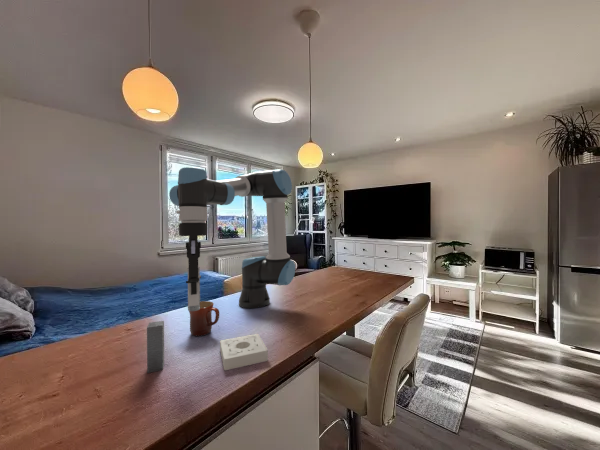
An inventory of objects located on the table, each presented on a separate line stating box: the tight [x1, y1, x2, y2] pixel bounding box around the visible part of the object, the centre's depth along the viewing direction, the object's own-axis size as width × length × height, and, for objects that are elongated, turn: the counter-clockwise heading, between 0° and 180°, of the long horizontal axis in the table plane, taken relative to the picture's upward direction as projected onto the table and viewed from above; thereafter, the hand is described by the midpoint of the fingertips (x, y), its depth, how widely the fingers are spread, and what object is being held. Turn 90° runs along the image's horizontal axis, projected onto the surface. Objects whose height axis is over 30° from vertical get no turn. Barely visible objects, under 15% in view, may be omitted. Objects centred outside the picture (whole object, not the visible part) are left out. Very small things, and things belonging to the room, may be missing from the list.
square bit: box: [146, 320, 165, 374], centre depth 68 cm, size 4×4×12 cm
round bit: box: [187, 266, 201, 312], centre depth 72 cm, size 3×3×12 cm
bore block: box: [219, 333, 269, 371], centre depth 74 cm, size 12×12×3 cm
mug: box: [188, 300, 220, 337], centre depth 89 cm, size 12×9×10 cm
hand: (194, 303), depth 72 cm, fingers closed on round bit, 3 cm apart
